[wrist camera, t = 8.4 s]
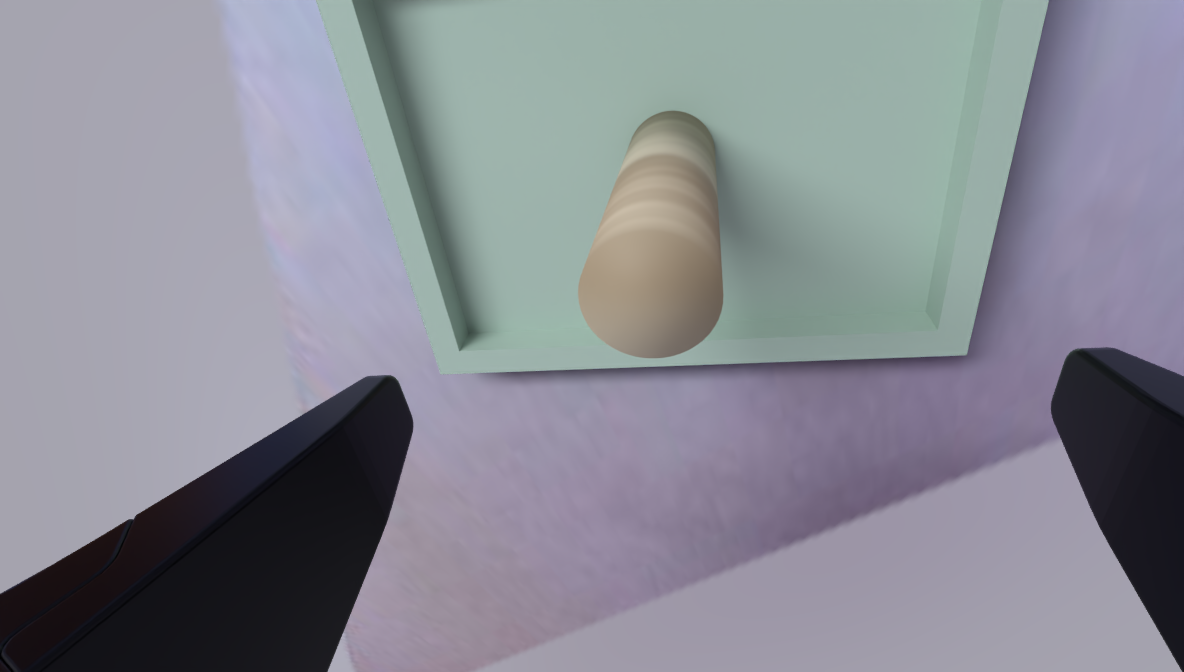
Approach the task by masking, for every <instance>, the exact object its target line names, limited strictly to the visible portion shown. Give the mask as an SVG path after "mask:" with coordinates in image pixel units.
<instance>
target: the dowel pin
mask: <svg viewBox="0 0 1184 672" xmlns="http://www.w3.org/2000/svg"><path fill="white" fill-rule="evenodd" d="M578 299H579V305H580V309H581V312H582V314H583V317H584V319H585V321H586V322H587V324H588V326H589V327H590V328H591V330H592V331H593V332H594V333H595V334H596V335H597V336H598V337H599V338H600V339H601V340H602V341H603V342H605V343H606V344H607V345H609V346H610V347H612V348H614V349H616V350H618V351H620V352H622V353H625V354H628V355H631V356H635V357H641V358H666V357H671V356H675V355H678V354H681V353H683V352H686V351H688V350H690V349H692V348H693V347H695V346H697V345H698V344H699V343H700V342H702V341H703V340H704V339H705V338H706V337H707V336H708V335H709V334H710V333H711V331H712V330H713V328H714V327H715V325H716V323H717V322H718V320H719V317H720V314H721V311H722V306H723V279H722V261H721V244H720V227H719V210H718V193H717V176H716V159H715V146H714V141H713V138H712V136H711V134H710V132H709V130H708V129H707V127H706V126H705V125H704V124H703V123H702V122H701V121H700V120H699V119H698V118H696V117H694V116H693V115H691V114H688V113H686V112H681V111H664V112H660V113H657V114H655V115H653V116H651V117H649V118H648V119H646V120H645V121H644V122H643V123H642V124H641V125H640V126H639V127H638V128H637V130H636V131H635V133H634V135H633V137H632V139H631V142H630V144H629V147H628V150H627V152H626V155H625V158H624V160H623V163H622V166H621V168H620V171H619V174H618V177H617V179H616V182H615V185H614V187H613V190H612V193H611V195H610V198H609V201H608V203H607V206H606V209H605V212H604V214H603V217H602V220H601V222H600V225H599V228H598V230H597V233H596V236H595V238H594V241H593V244H592V247H591V249H590V252H589V255H588V257H587V260H586V263H585V265H584V268H583V271H582V274H581V276H580V280H579V285H578Z"/></svg>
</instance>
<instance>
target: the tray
mask: <svg viewBox="0 0 1184 672" xmlns="http://www.w3.org/2000/svg"><path fill="white" fill-rule="evenodd" d="M316 2H317V5H318V8H319V11H320V14H321V17H322V20H323V23H324V26H325V29H326V32H327V35H328V38H329V41H330V44H331V47H332V50H333V53H334V56H335V59H336V62H337V65H338V68H339V71H340V74H341V77H342V80H343V83H344V86H345V89H346V92H347V95H348V98H349V101H350V104H351V107H352V110H353V113H354V116H355V119H356V122H357V125H358V128H359V131H360V134H361V137H362V140H363V143H364V146H365V149H366V152H367V155H368V158H369V161H370V164H371V167H372V170H373V173H374V176H375V179H376V182H377V185H378V188H379V191H380V194H381V197H382V200H383V203H384V206H385V209H386V212H387V215H388V218H389V221H390V224H391V227H392V230H393V233H394V236H395V239H396V242H397V245H398V248H399V251H400V254H401V257H402V260H403V263H404V266H405V269H406V272H407V275H408V278H409V281H410V284H411V287H412V290H413V293H414V296H415V299H416V302H417V305H418V308H419V311H420V314H421V317H422V320H423V323H424V326H425V329H426V332H427V335H428V338H429V341H430V344H431V347H432V350H433V353H434V356H435V359H436V361H437V364H438V367H439V370H440V373H441V374H465V373H492V372H520V371H547V370H575V369H602V368H630V367H658V366H685V365H713V364H740V363H768V362H795V361H823V360H851V359H878V358H906V357H933V356H961V355H967V351H968V347H969V343H970V338H971V334H972V330H973V326H974V321H975V317H976V313H977V308H978V304H979V300H980V295H981V291H982V287H983V282H984V278H985V274H986V270H987V265H988V261H989V257H990V252H991V248H992V244H993V239H994V235H995V231H996V226H997V222H998V218H999V214H1000V209H1001V205H1002V201H1003V196H1004V192H1005V188H1006V183H1007V179H1008V175H1009V170H1010V166H1011V162H1012V158H1013V153H1014V149H1015V145H1016V140H1017V136H1018V132H1019V127H1020V123H1021V119H1022V114H1023V110H1024V106H1025V102H1026V97H1027V93H1028V89H1029V84H1030V80H1031V76H1032V71H1033V67H1034V63H1035V58H1036V54H1037V50H1038V45H1039V41H1040V37H1041V33H1042V28H1043V24H1044V20H1045V15H1046V11H1047V7H1048V2H1049V0H316ZM664 111H681V112H686V113H688V114H691V115H693V116H694V117H696V118H698V119H699V120H700V121H701V122H702V123H703V124H704V125H705V126H706V127H707V129H708V130H709V132H710V134H711V136H712V138H713V141H714V146H715V159H716V176H717V193H718V210H719V227H720V244H721V261H722V279H723V306H722V311H721V314H720V317H719V320H718V322H717V323H716V325H715V327H714V328H713V330H712V331H711V333H710V334H709V335H708V336H707V337H706V338H705V339H704V340H703V341H702V342H700V343H699V344H698V345H697V346H695V347H693V348H692V349H690V350H688V351H686V352H683V353H681V354H678V355H675V356H671V357H666V358H641V357H635V356H631V355H628V354H625V353H622V352H620V351H618V350H616V349H614V348H612V347H610V346H609V345H607V344H606V343H605V342H603V341H602V340H601V339H600V338H599V337H598V336H597V335H596V334H595V333H594V332H593V331H592V330H591V328H590V327H589V326H588V324H587V322H586V321H585V319H584V317H583V314H582V312H581V309H580V305H579V299H578V285H579V280H580V276H581V274H582V271H583V268H584V265H585V263H586V260H587V257H588V255H589V252H590V249H591V247H592V244H593V241H594V238H595V236H596V233H597V230H598V228H599V225H600V222H601V220H602V217H603V214H604V212H605V209H606V206H607V203H608V201H609V198H610V195H611V193H612V190H613V187H614V185H615V182H616V179H617V177H618V174H619V171H620V168H621V166H622V163H623V160H624V158H625V155H626V152H627V150H628V147H629V144H630V142H631V139H632V137H633V135H634V133H635V131H636V130H637V128H638V127H639V126H640V125H641V124H642V123H643V122H644V121H645V120H646V119H648V118H649V117H651V116H653V115H655V114H657V113H660V112H664Z"/></svg>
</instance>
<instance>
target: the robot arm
mask: <svg viewBox="0 0 1184 672" xmlns="http://www.w3.org/2000/svg"><path fill="white" fill-rule="evenodd" d="M1051 414H1052V418H1053V421H1054V424H1055V426H1056V428H1057V431H1058V433H1059V435H1060V438H1061V440H1062V442H1063V445H1064V447H1065V449H1066V452H1067V454H1068V456H1069V459H1070V461H1071V463H1072V466H1073V468H1074V470H1075V473H1076V475H1077V477H1078V480H1079V482H1080V484H1081V487H1082V489H1083V491H1084V494H1085V496H1086V498H1087V501H1088V503H1089V505H1090V508H1091V510H1092V512H1093V514H1094V516H1095V518H1096V520H1097V522H1098V525H1099V527H1100V529H1101V530H1102V532H1103V534H1104V536H1105V538H1106V540H1107V542H1108V543H1109V545H1110V547H1111V549H1112V550H1113V552H1114V554H1115V556H1116V557H1117V559H1118V561H1119V563H1120V564H1121V566H1122V568H1123V570H1124V571H1125V573H1126V575H1127V577H1128V578H1129V580H1130V582H1131V584H1132V585H1133V587H1134V589H1135V591H1136V592H1137V594H1138V596H1139V597H1140V599H1141V601H1142V603H1143V604H1144V606H1145V608H1146V610H1147V611H1148V613H1149V615H1150V617H1151V618H1152V620H1153V622H1154V623H1155V625H1156V627H1157V629H1158V630H1159V632H1160V634H1161V636H1162V637H1163V639H1164V641H1165V643H1166V644H1167V646H1168V648H1169V649H1170V651H1171V653H1172V655H1173V657H1174V658H1175V660H1176V662H1177V663H1178V665H1179V667H1180V669H1181V670H1182V672H1184V376H1182V375H1180V374H1177V373H1175V372H1172V371H1170V370H1167V369H1165V368H1162V367H1160V366H1157V365H1155V364H1152V363H1150V362H1148V361H1145V360H1143V359H1140V358H1138V357H1135V356H1133V355H1130V354H1128V353H1125V352H1123V351H1120V350H1118V349H1115V348H1109V347H1105V348H1081V349H1075V350H1073V351H1072V352H1070V353H1069V354H1068V356H1067V357H1066V359H1065V362H1064V365H1063V368H1062V371H1061V374H1060V377H1059V380H1058V383H1057V386H1056V389H1055V392H1054V395H1053V398H1052V402H1051ZM412 433H413V419H412V415H411V412H410V410H409V407H408V404H407V402H406V399H405V397H404V394H403V392H402V389H401V386H400V384H399V382H398V380H397V379H396V378H395V377H393V376H391V375H381V376H368V377H365V378H363V379H361V380H360V381H358V382H356V383H355V384H353V385H351V386H350V387H348V388H346V389H345V390H343V391H341V392H340V393H338V394H336V395H335V396H333V397H331V398H330V399H328V400H326V401H325V402H323V403H321V404H320V405H318V406H316V407H315V408H313V409H311V410H310V411H308V412H307V413H305V414H303V415H302V416H300V417H298V418H297V419H295V420H293V421H292V422H290V423H288V424H287V425H285V426H283V427H282V428H280V429H279V430H277V431H275V432H274V433H272V434H270V435H268V436H267V437H265V438H263V439H262V440H260V441H259V442H257V443H255V444H253V445H252V446H250V447H249V448H247V449H245V450H244V451H242V452H240V453H239V454H237V455H235V456H234V457H232V458H230V459H229V460H227V461H226V462H224V463H222V464H220V465H219V466H217V467H215V468H214V469H212V470H210V471H209V472H207V473H205V474H204V475H202V476H200V477H199V478H197V479H195V480H194V481H192V482H190V483H189V484H187V485H185V486H184V487H182V488H180V489H179V490H177V491H175V492H174V493H172V494H170V495H169V496H167V497H165V498H164V499H162V500H160V501H159V502H157V503H155V504H154V505H152V506H151V507H149V508H148V509H146V510H144V511H142V512H141V513H139V514H137V515H136V516H135V518H134V520H133V519H129V520H127V521H125V522H124V523H122V524H120V525H119V526H117V527H115V528H114V529H112V530H110V531H109V532H107V533H106V534H104V535H102V536H101V537H99V538H97V539H95V540H94V541H92V542H90V543H89V544H87V545H85V546H84V547H82V548H80V549H78V550H77V551H75V552H73V553H72V554H70V555H68V556H66V557H65V558H63V559H61V560H60V561H58V562H56V563H55V564H53V565H51V566H49V567H47V568H46V569H44V570H42V571H40V572H38V573H37V574H35V575H33V576H31V577H29V578H28V579H26V580H24V581H22V582H21V583H19V584H17V585H15V586H13V587H12V588H10V589H8V590H6V591H4V592H3V593H1V594H0V672H328V669H329V666H330V664H331V662H332V659H333V657H334V654H335V652H336V649H337V646H338V644H339V642H340V639H341V637H342V634H343V632H344V629H345V627H346V624H347V622H348V619H349V617H350V614H351V612H352V609H353V607H354V604H355V602H356V599H357V597H358V594H359V592H360V589H361V587H362V584H363V582H364V579H365V577H366V574H367V572H368V569H369V567H370V564H371V562H372V559H373V557H374V554H375V552H376V549H377V547H378V544H379V542H380V539H381V537H382V534H383V531H384V529H385V526H386V523H387V521H388V517H389V514H390V511H391V508H392V505H393V501H394V497H395V494H396V490H397V487H398V483H399V480H400V476H401V472H402V469H403V465H404V462H405V458H406V455H407V451H408V447H409V444H410V440H411V437H412Z"/></svg>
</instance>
